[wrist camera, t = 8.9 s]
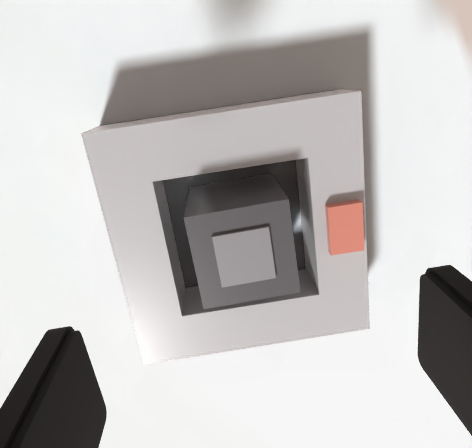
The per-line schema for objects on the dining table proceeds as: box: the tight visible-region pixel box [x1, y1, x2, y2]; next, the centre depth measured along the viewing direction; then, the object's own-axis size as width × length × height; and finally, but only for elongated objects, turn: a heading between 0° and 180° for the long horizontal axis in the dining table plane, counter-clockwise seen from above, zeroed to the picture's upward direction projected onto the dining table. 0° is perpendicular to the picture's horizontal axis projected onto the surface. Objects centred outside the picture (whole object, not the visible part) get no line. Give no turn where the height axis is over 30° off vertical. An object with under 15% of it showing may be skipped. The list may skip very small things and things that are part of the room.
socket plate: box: [82, 89, 370, 365], centre depth 20 cm, size 12×12×4 cm
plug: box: [183, 173, 300, 309], centre depth 20 cm, size 4×4×5 cm
